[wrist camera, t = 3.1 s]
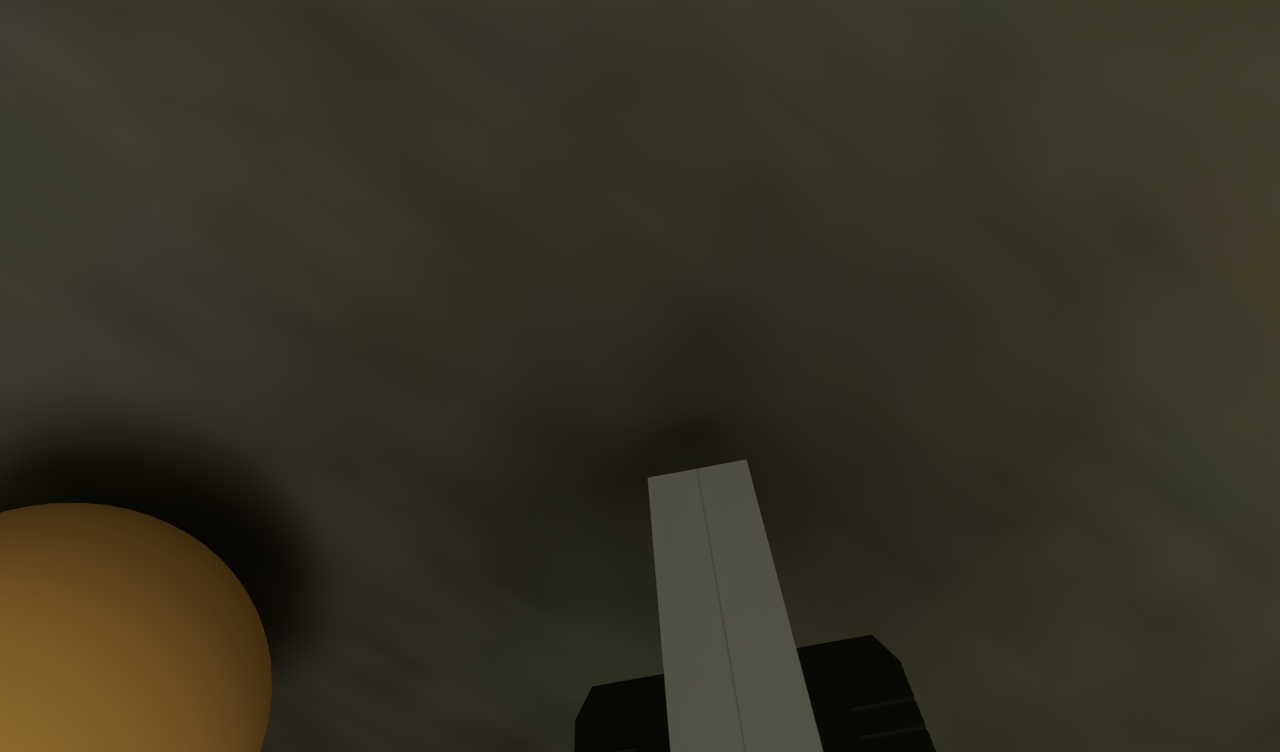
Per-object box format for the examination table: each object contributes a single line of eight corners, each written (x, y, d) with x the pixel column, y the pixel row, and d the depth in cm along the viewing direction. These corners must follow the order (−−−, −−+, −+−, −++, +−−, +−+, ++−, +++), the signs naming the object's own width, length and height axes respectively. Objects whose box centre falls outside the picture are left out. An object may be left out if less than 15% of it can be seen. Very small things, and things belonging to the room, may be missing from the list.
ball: (359, 678, 19) (260, 999, 13) (55, 732, 19) (-164, 1066, 13) (243, 400, 16) (60, 656, 11) (-108, 468, 16) (-460, 751, 11)
